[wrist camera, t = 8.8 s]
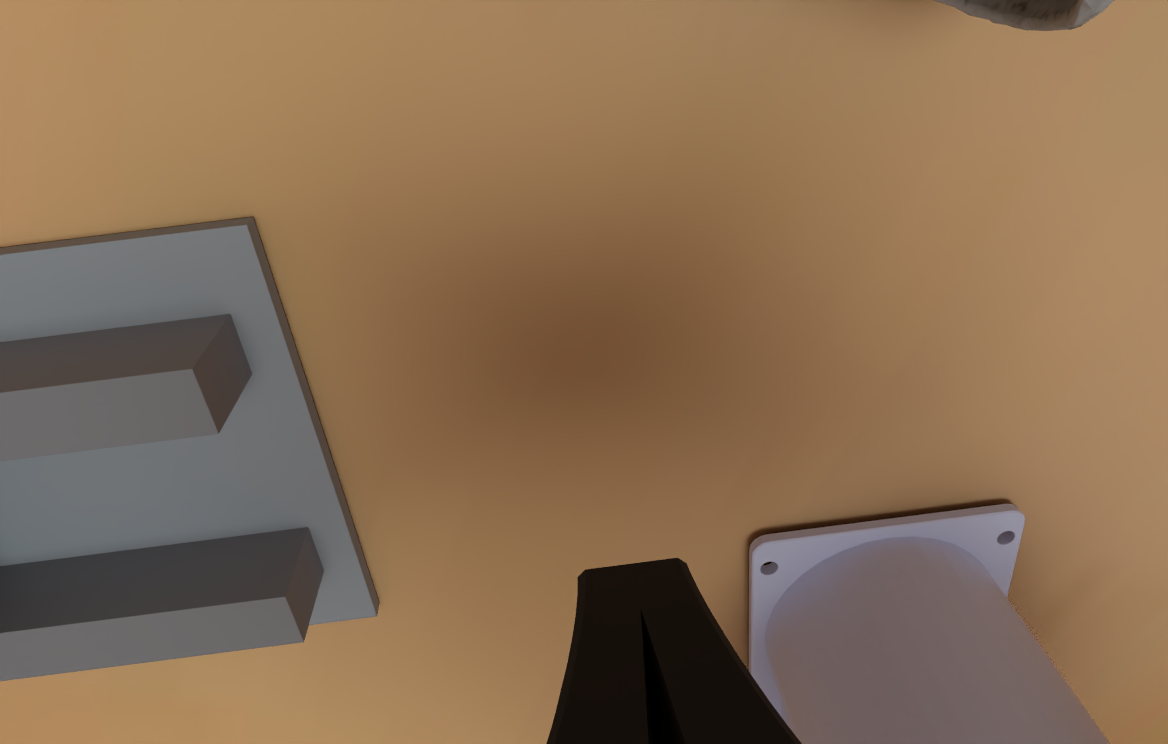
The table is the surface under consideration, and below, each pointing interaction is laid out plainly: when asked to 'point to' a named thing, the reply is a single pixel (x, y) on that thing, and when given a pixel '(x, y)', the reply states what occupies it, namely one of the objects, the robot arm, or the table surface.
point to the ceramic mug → (1033, 12)
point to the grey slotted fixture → (160, 457)
